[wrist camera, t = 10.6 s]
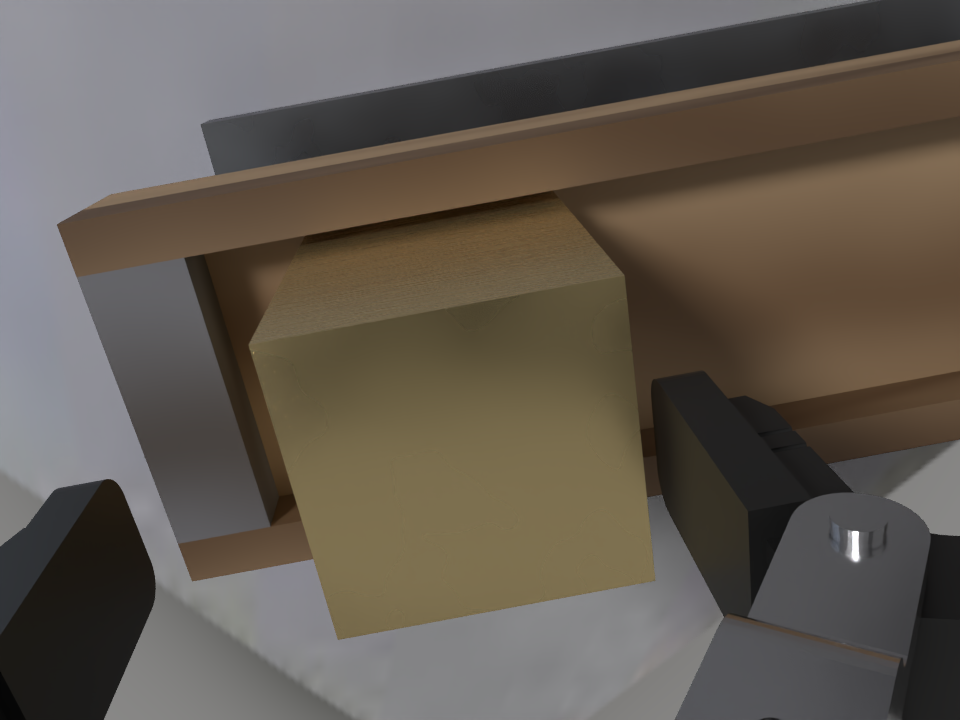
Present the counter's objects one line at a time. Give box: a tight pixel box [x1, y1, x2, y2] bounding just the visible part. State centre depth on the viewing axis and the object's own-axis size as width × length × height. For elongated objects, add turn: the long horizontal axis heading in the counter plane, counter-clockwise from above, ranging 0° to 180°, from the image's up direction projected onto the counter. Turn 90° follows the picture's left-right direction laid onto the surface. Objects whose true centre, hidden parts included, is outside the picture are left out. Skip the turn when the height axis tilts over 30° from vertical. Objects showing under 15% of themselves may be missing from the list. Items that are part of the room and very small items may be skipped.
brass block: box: [249, 190, 655, 640], centre depth 14 cm, size 5×5×6 cm
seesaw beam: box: [57, 40, 960, 581], centre depth 17 cm, size 8×30×3 cm, turn 99°
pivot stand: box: [201, 0, 960, 175], centre depth 23 cm, size 9×30×10 cm, turn 99°
